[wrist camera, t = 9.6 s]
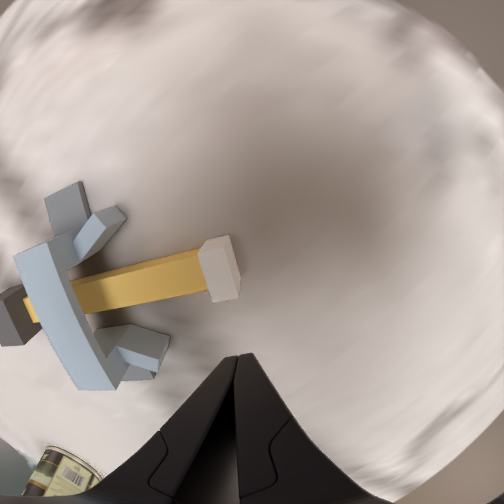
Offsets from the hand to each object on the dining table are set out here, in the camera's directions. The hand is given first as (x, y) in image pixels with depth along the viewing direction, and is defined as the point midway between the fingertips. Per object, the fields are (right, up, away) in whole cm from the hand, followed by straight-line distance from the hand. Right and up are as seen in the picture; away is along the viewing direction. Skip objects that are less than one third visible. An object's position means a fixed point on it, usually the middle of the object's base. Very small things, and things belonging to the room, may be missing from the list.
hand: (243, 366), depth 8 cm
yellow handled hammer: (-11, 0, +11) cm, 16 cm away
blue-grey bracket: (-10, +1, +11) cm, 15 cm away
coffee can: (-28, -30, +21) cm, 46 cm away
